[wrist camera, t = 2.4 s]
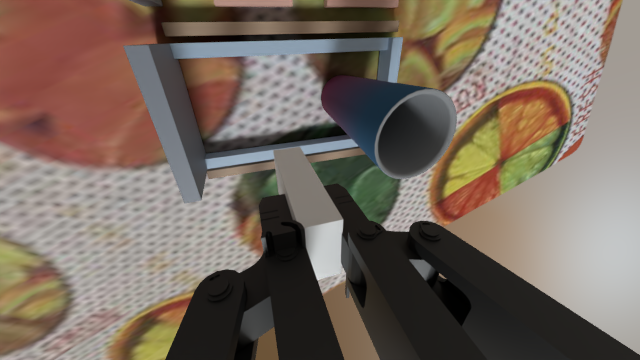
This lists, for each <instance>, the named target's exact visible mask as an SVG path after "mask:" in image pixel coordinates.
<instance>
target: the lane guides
mask: <svg viewBox="0 0 640 360" xmlns="http://www.w3.org/2000/svg"><path fill="white" fill-rule="evenodd" d="M161 24H162V27H163V30H164V33H165V36H216V35H266V34H315V33H364V32H398V27H399V21H290V22H161ZM362 154H366V153H365V152H364V151H363V150H362V149H361V148H360V147H359V146H358V147H351V148H344V149H338V150H331V151H324V152H318V153H311V154H305V156H306V158H307V159H308V161H309V163H312V162H319V161H325V160H331V159H337V158H344V157H350V156H356V155H362ZM269 169H275V161H274V159H271V160H264V161H258V162H251V163H244V164H238V165H231V166H224V167H218V168H211V169H207V174H208V178H209V179H212V178H218V177H225V176H231V175H237V174H243V173H250V172H256V171H262V170H269Z"/></svg>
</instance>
